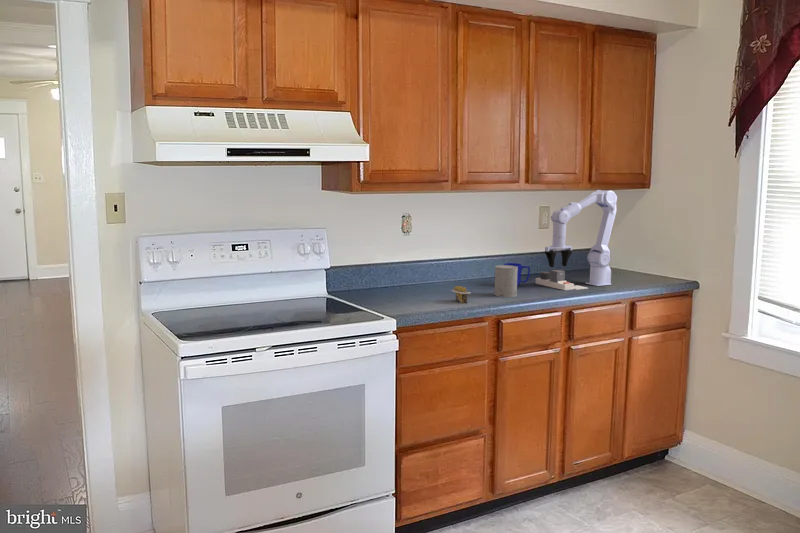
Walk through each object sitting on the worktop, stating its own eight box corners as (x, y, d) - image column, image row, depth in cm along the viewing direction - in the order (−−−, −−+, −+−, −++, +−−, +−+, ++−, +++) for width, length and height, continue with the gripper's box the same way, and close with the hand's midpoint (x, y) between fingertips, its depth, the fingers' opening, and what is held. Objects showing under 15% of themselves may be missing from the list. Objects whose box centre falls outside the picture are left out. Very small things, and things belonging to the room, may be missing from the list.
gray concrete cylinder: (503, 297, 285) (503, 268, 283) (489, 294, 293) (490, 265, 291) (521, 296, 289) (522, 267, 287) (507, 292, 297) (508, 264, 296)
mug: (529, 287, 310) (530, 266, 308) (502, 286, 312) (503, 265, 310) (529, 284, 317) (530, 263, 316) (503, 283, 320) (504, 262, 318)
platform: (460, 308, 265) (460, 291, 264) (435, 300, 280) (435, 284, 279) (484, 305, 270) (485, 289, 270) (459, 297, 286) (459, 282, 285)
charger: (557, 280, 315) (558, 269, 314) (564, 281, 311) (565, 271, 310) (550, 281, 313) (550, 270, 312) (557, 282, 309) (557, 271, 308)
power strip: (544, 282, 324) (544, 271, 323) (573, 289, 307) (574, 277, 306) (535, 283, 321) (535, 271, 321) (564, 290, 304) (565, 277, 303)
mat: (577, 286, 315) (577, 285, 315) (588, 288, 309) (588, 287, 309) (565, 287, 311) (565, 286, 311) (576, 289, 305) (576, 288, 305)
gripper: (565, 235, 316) (564, 264, 318) (541, 236, 309) (539, 266, 311) (576, 236, 310) (574, 266, 312) (551, 238, 303) (550, 268, 305)
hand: (557, 266), depth 311 cm, fingers open, 7 cm apart
